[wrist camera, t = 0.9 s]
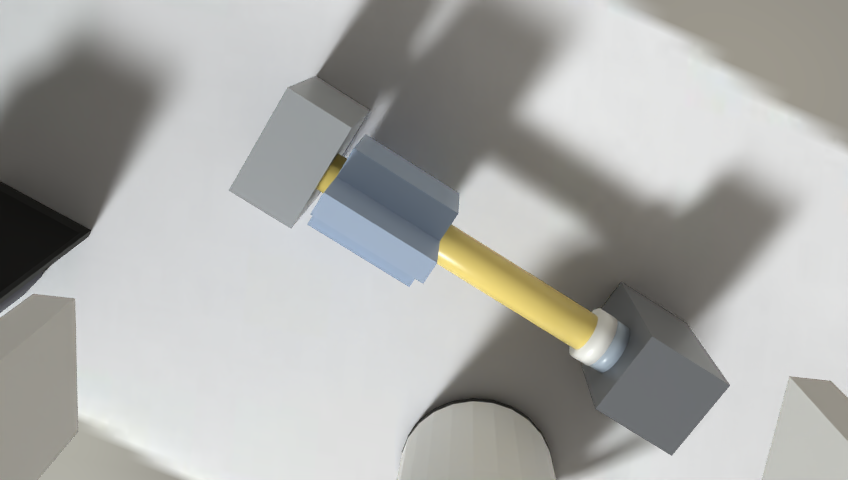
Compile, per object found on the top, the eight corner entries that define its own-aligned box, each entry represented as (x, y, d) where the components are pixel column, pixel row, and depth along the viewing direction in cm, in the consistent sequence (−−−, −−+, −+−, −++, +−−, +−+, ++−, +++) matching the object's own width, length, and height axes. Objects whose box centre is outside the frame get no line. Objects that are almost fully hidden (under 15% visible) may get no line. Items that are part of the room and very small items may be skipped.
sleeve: (323, 203, 37) (292, 244, 30) (365, 134, 36) (342, 161, 29) (415, 260, 37) (403, 312, 31) (459, 193, 36) (457, 232, 30)
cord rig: (265, 163, 39) (223, 194, 32) (315, 75, 38) (283, 89, 31) (632, 390, 41) (664, 464, 35) (692, 315, 40) (737, 376, 33)
